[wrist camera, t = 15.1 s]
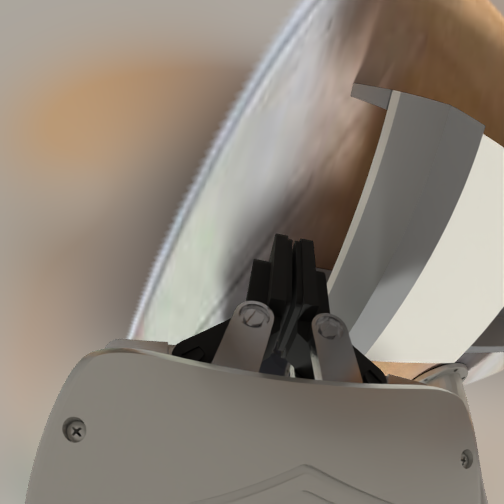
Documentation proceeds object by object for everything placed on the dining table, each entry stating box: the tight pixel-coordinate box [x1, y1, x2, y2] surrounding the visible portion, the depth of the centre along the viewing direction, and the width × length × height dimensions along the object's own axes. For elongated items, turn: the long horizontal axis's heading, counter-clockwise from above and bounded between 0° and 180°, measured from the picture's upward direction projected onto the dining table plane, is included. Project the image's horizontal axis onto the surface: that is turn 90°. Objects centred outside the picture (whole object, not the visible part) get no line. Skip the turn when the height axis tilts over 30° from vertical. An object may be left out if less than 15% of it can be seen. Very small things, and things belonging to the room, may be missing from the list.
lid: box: [327, 90, 504, 363], centre depth 12 cm, size 17×15×5 cm
